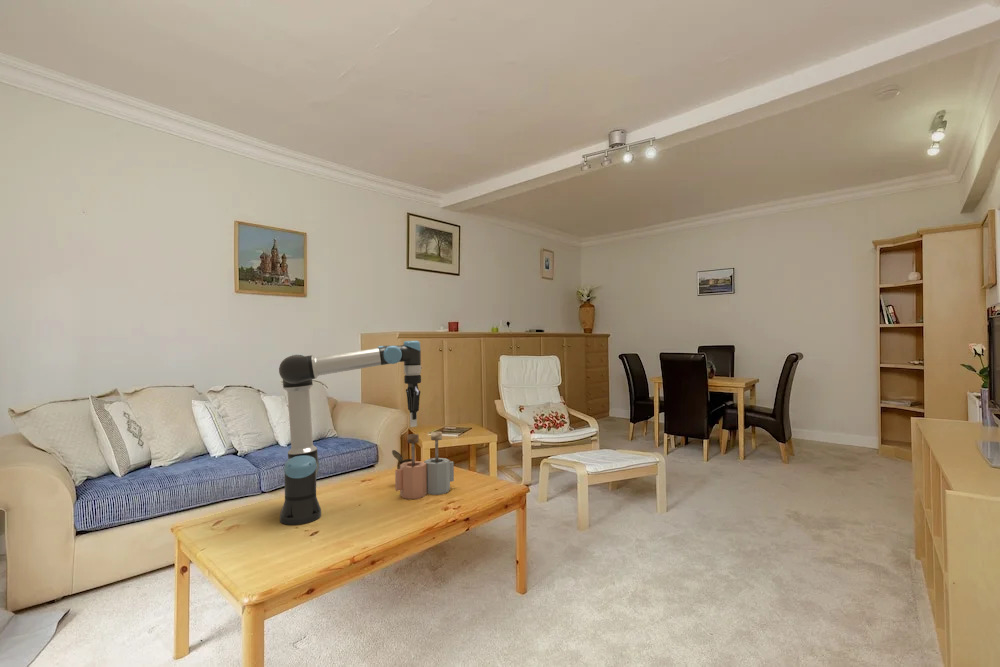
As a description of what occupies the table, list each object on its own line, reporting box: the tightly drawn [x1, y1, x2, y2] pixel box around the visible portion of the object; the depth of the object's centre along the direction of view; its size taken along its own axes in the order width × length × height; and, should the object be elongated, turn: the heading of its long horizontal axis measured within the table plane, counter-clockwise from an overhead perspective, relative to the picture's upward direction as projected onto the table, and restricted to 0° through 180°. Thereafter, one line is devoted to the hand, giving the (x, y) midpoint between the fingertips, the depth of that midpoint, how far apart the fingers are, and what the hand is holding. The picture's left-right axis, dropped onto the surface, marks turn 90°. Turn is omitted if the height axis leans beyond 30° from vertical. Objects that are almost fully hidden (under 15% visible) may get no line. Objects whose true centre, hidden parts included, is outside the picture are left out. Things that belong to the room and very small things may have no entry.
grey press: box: [423, 457, 455, 496], centre depth 223 cm, size 14×11×14 cm
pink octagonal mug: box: [394, 460, 428, 500], centre depth 216 cm, size 14×11×14 cm
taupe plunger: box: [406, 433, 420, 466], centre depth 217 cm, size 5×5×16 cm
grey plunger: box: [430, 431, 443, 463], centre depth 222 cm, size 5×5×16 cm
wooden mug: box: [391, 449, 412, 470], centre depth 234 cm, size 9×14×18 cm, turn 142°
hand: (413, 426), depth 217 cm, fingers closed
